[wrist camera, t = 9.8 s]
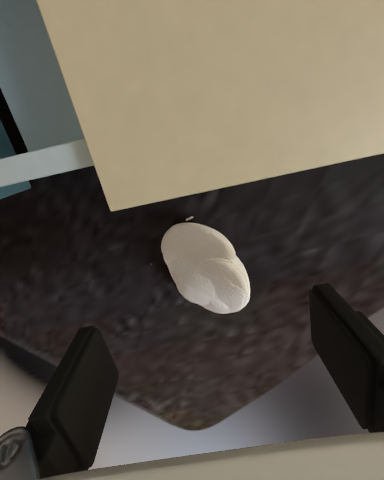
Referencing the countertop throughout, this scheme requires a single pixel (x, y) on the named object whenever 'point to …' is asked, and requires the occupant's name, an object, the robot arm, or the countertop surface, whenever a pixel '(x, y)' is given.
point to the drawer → (35, 102)
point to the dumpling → (205, 267)
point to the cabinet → (218, 89)
